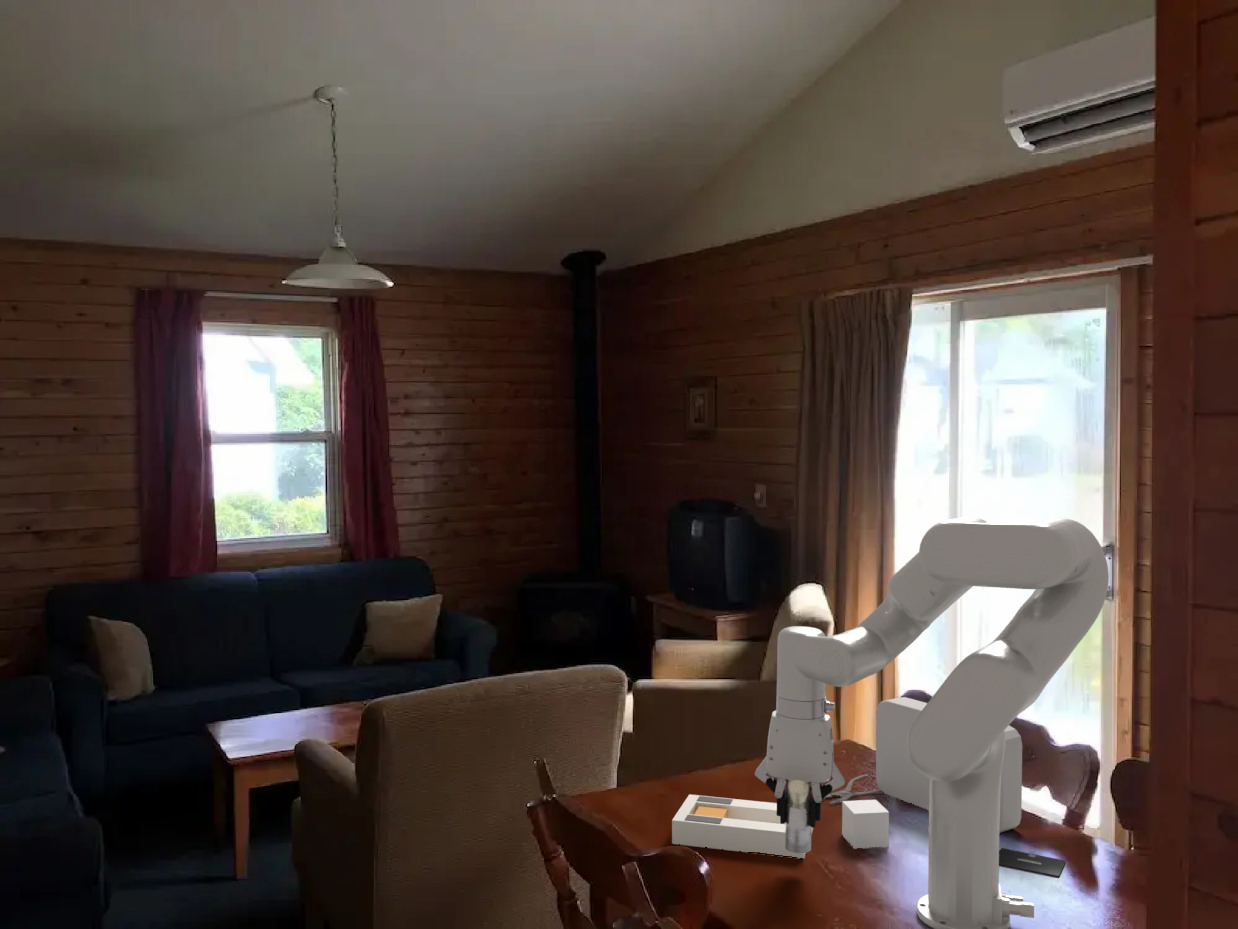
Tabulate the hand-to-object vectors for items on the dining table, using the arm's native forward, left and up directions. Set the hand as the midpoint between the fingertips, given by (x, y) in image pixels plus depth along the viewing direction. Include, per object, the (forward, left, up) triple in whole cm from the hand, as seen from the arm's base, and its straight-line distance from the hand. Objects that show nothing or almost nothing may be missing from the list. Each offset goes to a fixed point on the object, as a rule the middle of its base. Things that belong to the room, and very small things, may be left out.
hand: (798, 821), depth 165 cm
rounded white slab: (-22, -35, -8) cm, 42 cm away
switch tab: (+16, -12, -7) cm, 21 cm away
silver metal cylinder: (0, 0, -4) cm, 4 cm away
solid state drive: (-35, -14, -9) cm, 39 cm away
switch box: (+11, -12, -8) cm, 18 cm away
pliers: (-7, -40, -9) cm, 41 cm away
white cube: (-9, -16, -8) cm, 20 cm away
